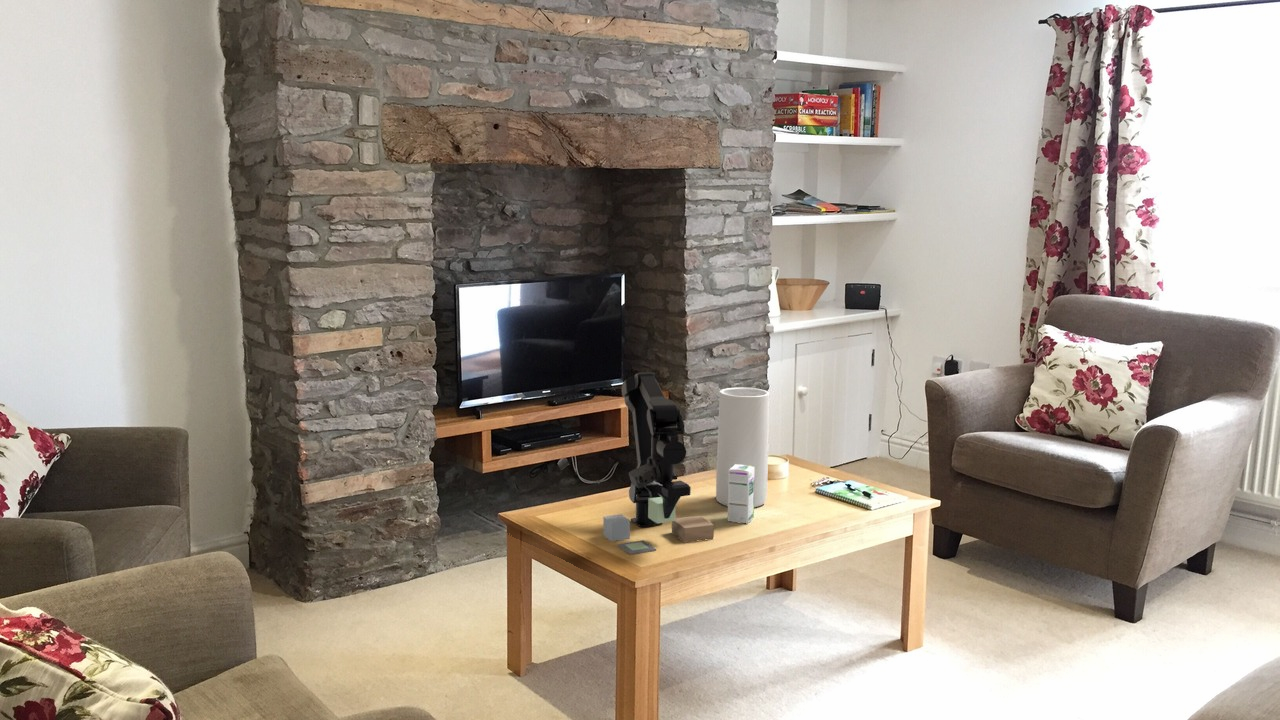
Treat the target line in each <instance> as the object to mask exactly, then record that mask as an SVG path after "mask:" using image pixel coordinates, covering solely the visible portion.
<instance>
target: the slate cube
mask: <svg viewBox="0 0 1280 720" xmlns="http://www.w3.org/2000/svg"><path fill="white" fill-rule="evenodd" d="M602 527H603V529H602V531H603V532H602V533H603V535H604V536H603V537H605V538H606V537H607V538H608V539H607V538H606V539H607V540H609V541H610V542H617V541H616V540H619V541H623V540H624V539H625V540H630V539H631V519H630V518H628V517H626V516H625V515H623V514H621V513H619V514H615V515H607V516H606V515H605V516H603V526H602ZM625 540H624V541H625Z"/></svg>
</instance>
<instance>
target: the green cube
mask: <svg viewBox="0 0 1280 720" xmlns="http://www.w3.org/2000/svg"><path fill="white" fill-rule="evenodd" d="M676 506H677V505H676ZM676 506H675V507H674V509H673V511H672V513H671V515H670V517H669V518H667V519H665V518H664V510H663V499H662V498H661V497H656V498H648V518H649V519H651V520H652V521H654V522H656V523H657V524H658V523H662V524H663V523H664V524H665V523H670V522H671V523H672V521H675V518H676V509H677V507H676Z"/></svg>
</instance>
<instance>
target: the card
mask: <svg viewBox="0 0 1280 720" xmlns="http://www.w3.org/2000/svg"><path fill="white" fill-rule="evenodd" d="M617 547H619V548H620V549H621V550H623V551H625V552H626V553H627V554H629V555H631V554H632V555H636V554H643V553H650V552H654V551H657V548H655V547H654V546H652V544H649V543H648V542H647V541H645V540H643V539H642V540H637V541H629V542H624V543H623V542H622V543H617Z"/></svg>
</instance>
